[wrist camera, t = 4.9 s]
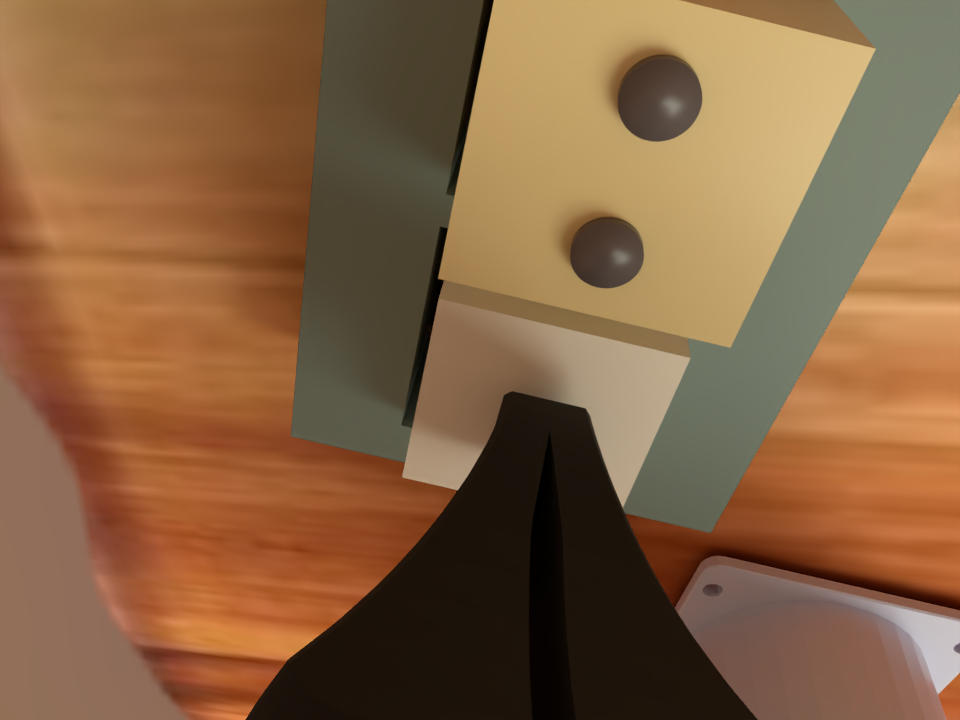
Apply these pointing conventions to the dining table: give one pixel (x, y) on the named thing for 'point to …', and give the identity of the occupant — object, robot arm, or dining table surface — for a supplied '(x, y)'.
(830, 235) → the toy block sorting board
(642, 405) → the toy block
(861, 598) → the robot arm
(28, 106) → the dining table surface
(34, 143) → the dining table surface
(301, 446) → the dining table surface
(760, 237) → the toy block
